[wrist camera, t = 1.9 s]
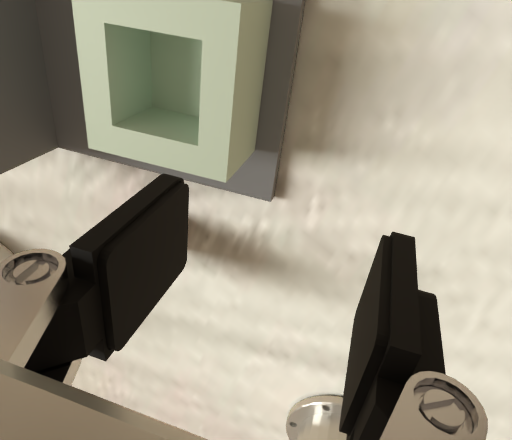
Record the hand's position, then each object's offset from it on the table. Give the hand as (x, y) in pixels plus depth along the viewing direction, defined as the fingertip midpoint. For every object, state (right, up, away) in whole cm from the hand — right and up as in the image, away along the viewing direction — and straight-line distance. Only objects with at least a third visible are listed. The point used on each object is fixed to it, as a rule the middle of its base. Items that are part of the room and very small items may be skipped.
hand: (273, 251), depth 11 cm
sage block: (-5, +12, +17) cm, 21 cm away
